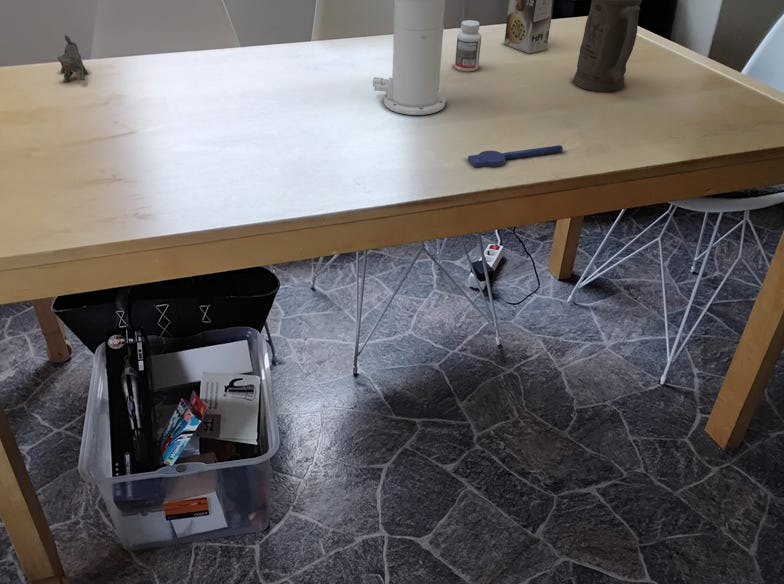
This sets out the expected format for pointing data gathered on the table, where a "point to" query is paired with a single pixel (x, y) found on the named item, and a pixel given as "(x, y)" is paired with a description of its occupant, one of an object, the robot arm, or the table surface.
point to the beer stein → (607, 44)
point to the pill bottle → (468, 46)
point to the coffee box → (528, 24)
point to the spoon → (508, 156)
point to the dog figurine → (71, 61)
